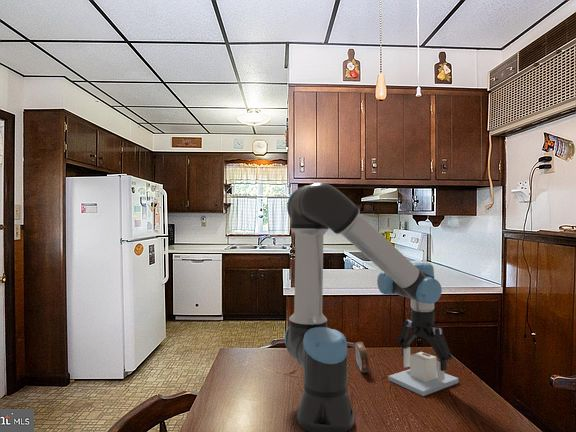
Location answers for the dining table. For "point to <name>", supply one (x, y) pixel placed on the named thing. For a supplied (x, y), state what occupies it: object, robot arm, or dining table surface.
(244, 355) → the dining table surface
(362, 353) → the tin
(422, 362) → the cream box with handle
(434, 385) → the panel
